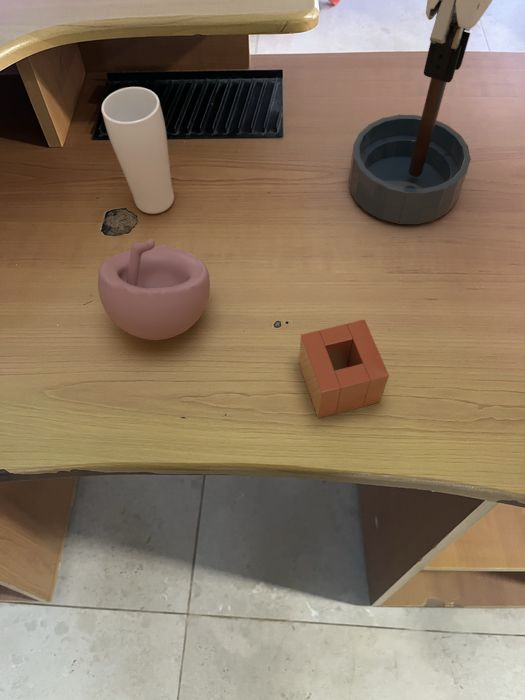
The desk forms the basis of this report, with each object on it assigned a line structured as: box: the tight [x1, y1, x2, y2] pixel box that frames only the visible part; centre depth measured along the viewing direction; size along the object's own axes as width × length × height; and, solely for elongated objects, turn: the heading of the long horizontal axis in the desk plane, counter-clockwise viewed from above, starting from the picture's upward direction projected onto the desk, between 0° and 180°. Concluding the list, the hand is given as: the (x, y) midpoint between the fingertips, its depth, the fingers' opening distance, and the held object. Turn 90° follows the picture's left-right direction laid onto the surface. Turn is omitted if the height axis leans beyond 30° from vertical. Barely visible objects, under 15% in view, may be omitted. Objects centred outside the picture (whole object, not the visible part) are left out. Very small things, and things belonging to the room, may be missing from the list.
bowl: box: [348, 114, 472, 225], centre depth 75 cm, size 15×15×6 cm
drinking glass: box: [101, 86, 175, 215], centre depth 71 cm, size 7×7×15 cm
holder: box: [298, 318, 390, 419], centre depth 60 cm, size 7×7×6 cm
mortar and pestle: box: [97, 238, 211, 341], centre depth 63 cm, size 12×12×12 cm
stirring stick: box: [408, 24, 456, 177], centre depth 67 cm, size 2×2×20 cm
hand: (441, 70), depth 63 cm, fingers closed on stirring stick, 1 cm apart
